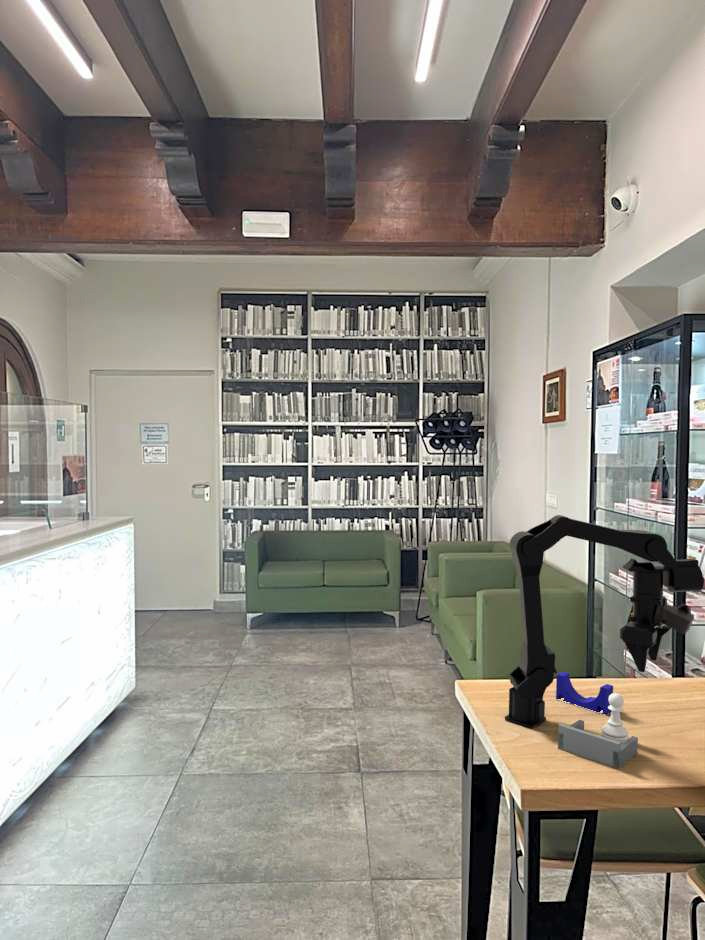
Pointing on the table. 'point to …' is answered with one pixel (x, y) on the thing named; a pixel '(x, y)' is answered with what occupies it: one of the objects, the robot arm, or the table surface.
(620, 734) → the chess pawn
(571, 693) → the blue concave cradle
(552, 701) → the table surface
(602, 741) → the box
